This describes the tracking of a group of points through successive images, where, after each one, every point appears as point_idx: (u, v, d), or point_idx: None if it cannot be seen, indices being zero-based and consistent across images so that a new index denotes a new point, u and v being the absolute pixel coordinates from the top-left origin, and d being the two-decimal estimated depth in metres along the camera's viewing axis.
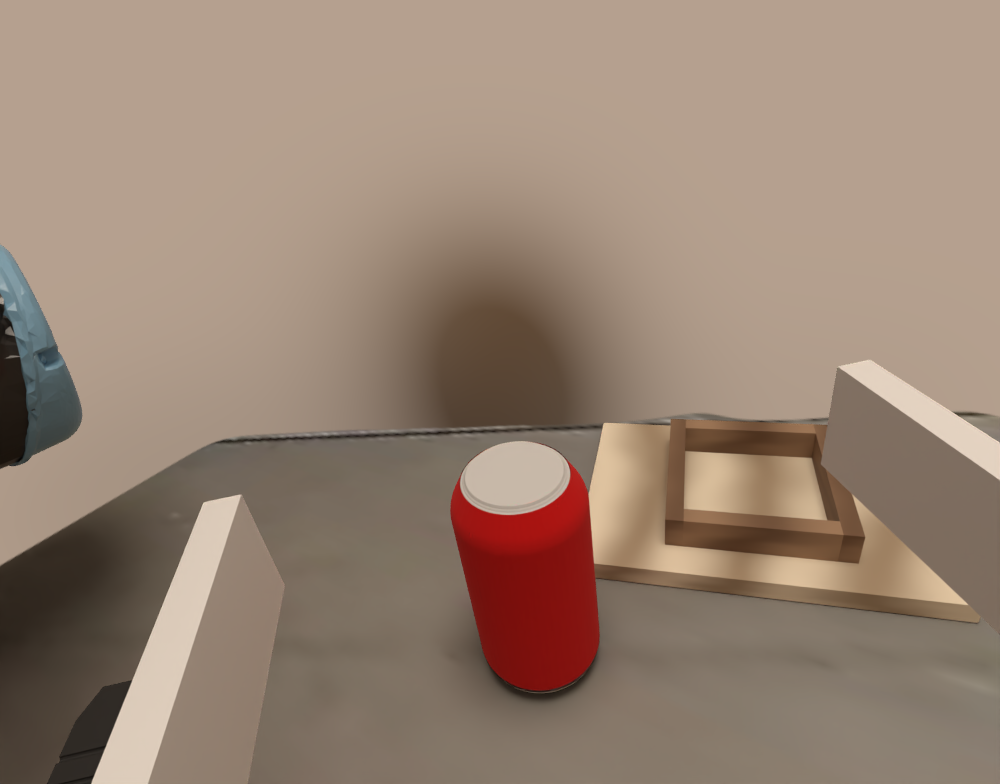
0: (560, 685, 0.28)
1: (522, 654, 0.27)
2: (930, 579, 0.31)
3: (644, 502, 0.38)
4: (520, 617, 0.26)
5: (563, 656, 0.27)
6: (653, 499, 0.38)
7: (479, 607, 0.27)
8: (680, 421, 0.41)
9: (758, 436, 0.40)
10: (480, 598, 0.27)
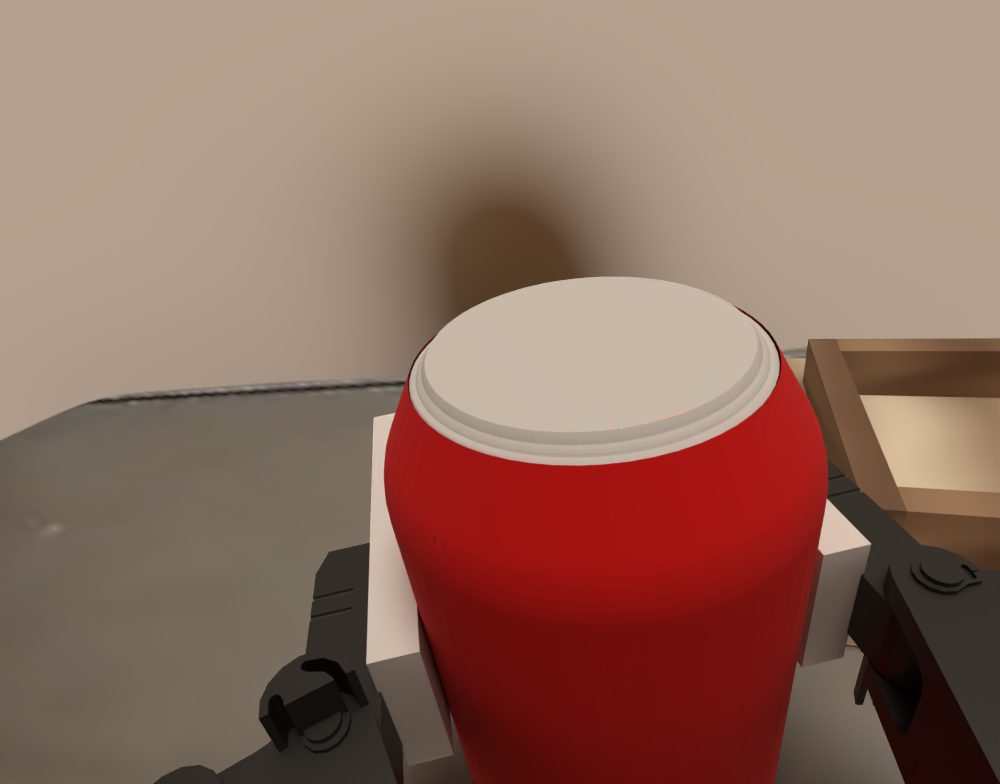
0: None
1: None
2: None
3: None
4: None
5: None
6: None
7: (473, 749, 0.10)
8: (827, 342, 0.24)
9: (980, 361, 0.22)
10: (475, 732, 0.09)
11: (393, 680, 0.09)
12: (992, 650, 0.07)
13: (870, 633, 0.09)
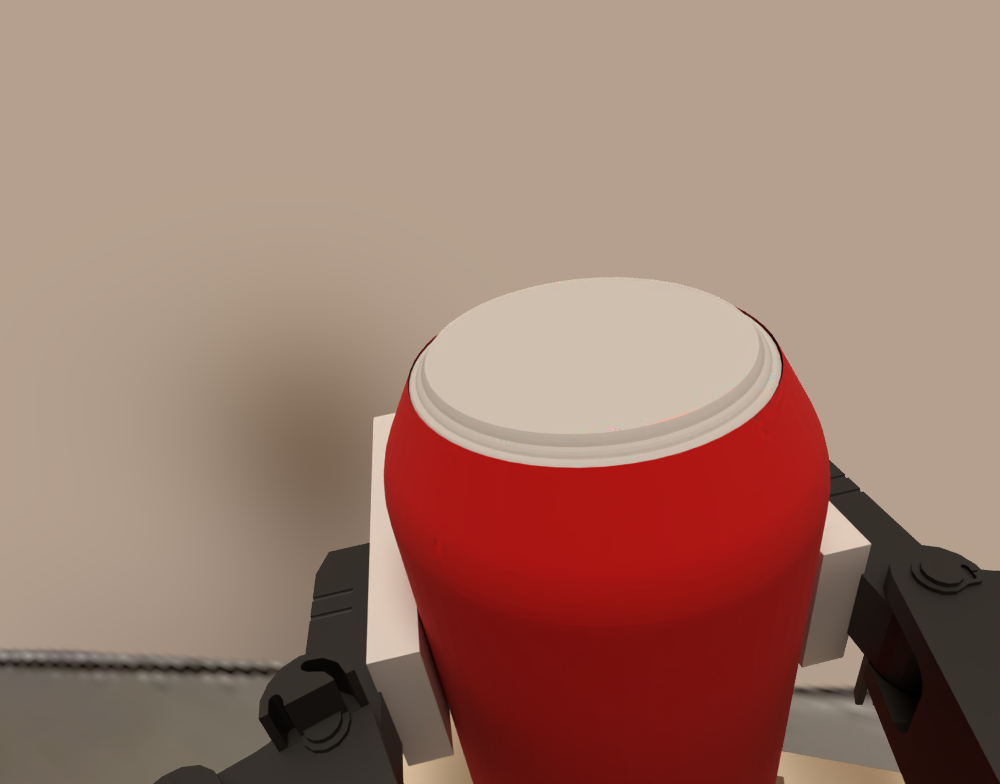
0: None
1: None
2: None
3: None
4: None
5: None
6: None
7: (474, 751, 0.10)
8: None
9: None
10: (475, 735, 0.09)
11: (393, 680, 0.09)
12: (992, 649, 0.07)
13: (870, 633, 0.09)
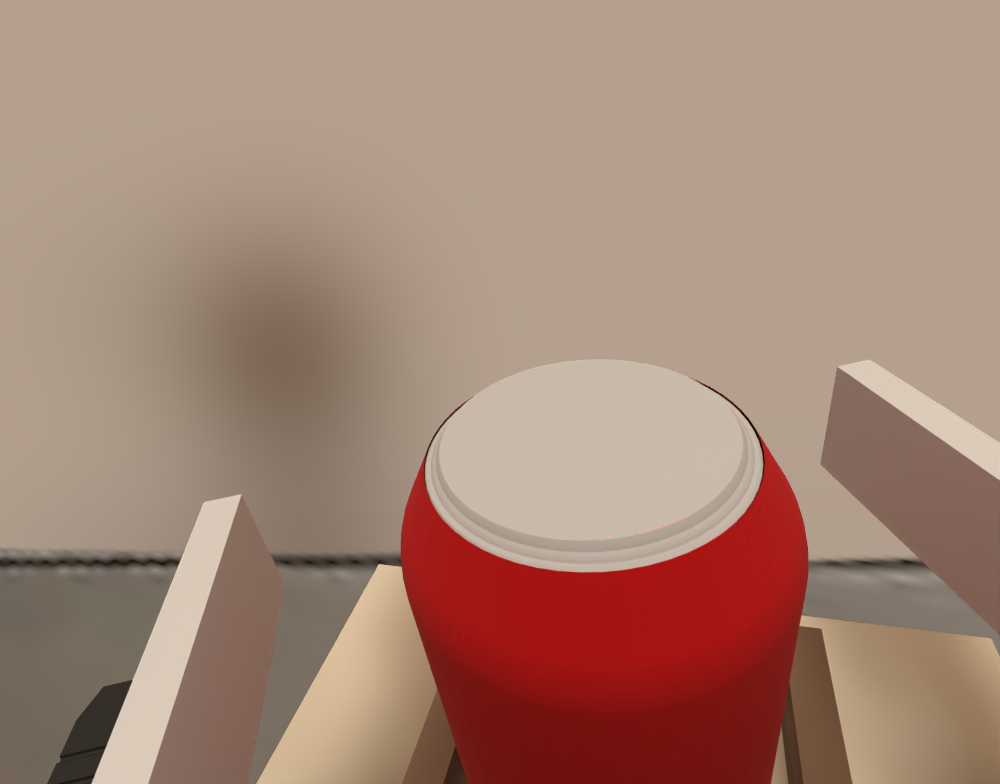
0: None
1: None
2: None
3: None
4: None
5: None
6: None
7: None
8: None
9: None
10: None
11: None
12: None
13: None
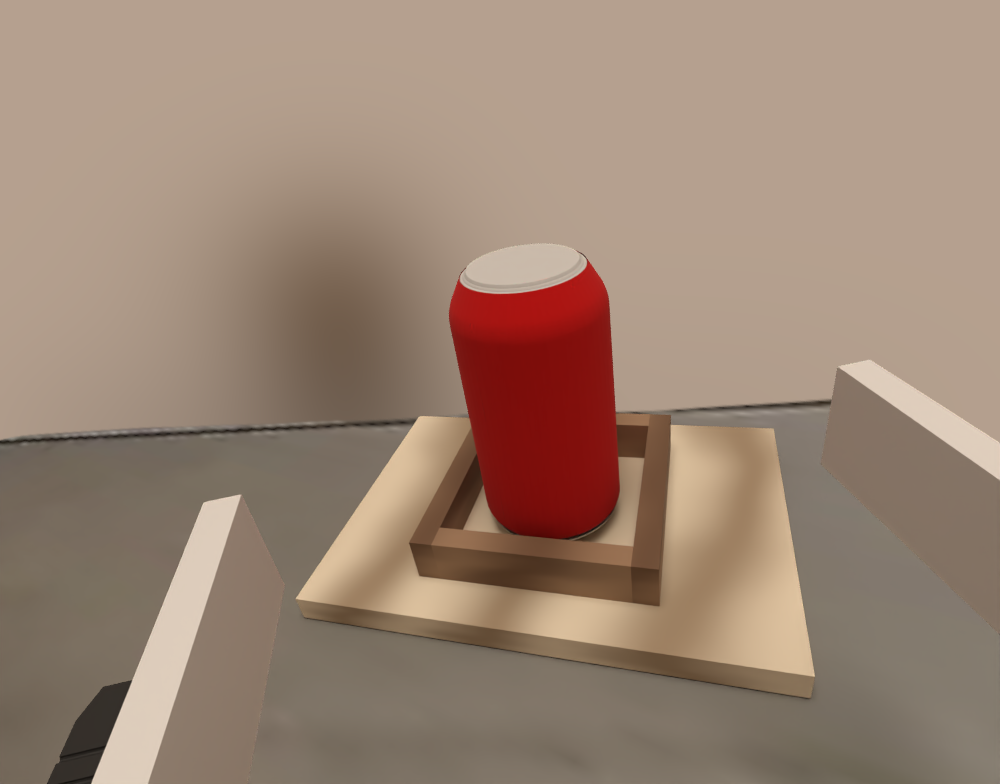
0: (576, 532, 0.25)
1: (532, 487, 0.24)
2: (749, 631, 0.21)
3: (420, 517, 0.29)
4: (530, 434, 0.22)
5: (580, 492, 0.24)
6: None
7: (482, 434, 0.24)
8: None
9: None
10: (483, 418, 0.23)
11: None
12: None
13: None
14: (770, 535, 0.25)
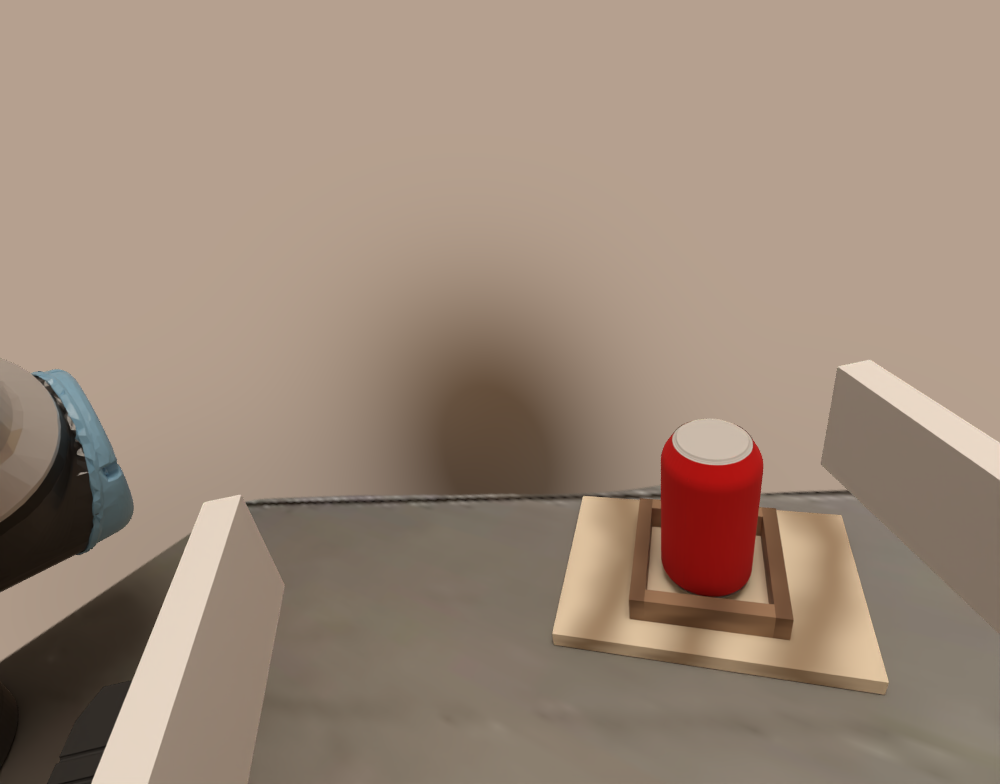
0: (730, 592, 0.40)
1: (710, 567, 0.39)
2: (847, 656, 0.37)
3: (614, 577, 0.44)
4: (715, 539, 0.37)
5: (737, 569, 0.39)
6: (622, 574, 0.44)
7: (679, 534, 0.39)
8: (647, 501, 0.47)
9: None
10: (683, 527, 0.38)
11: None
12: None
13: None
14: (850, 594, 0.40)
